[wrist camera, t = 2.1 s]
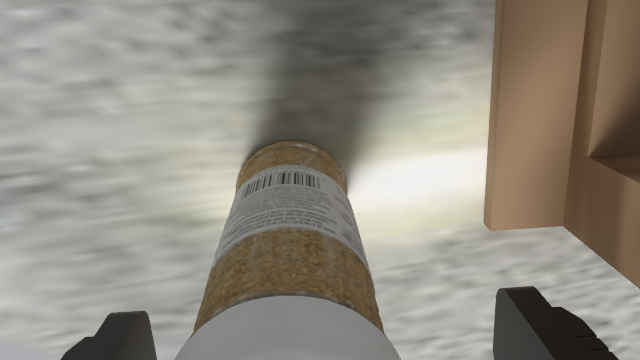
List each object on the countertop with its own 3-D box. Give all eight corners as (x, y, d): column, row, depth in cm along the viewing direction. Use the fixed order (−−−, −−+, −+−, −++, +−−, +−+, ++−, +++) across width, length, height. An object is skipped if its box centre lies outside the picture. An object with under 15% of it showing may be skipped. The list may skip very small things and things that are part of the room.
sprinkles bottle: (231, 233, 21) (130, 575, 8) (243, 128, 20) (146, 346, 7) (338, 247, 22) (397, 592, 9) (358, 145, 20) (464, 381, 7)
